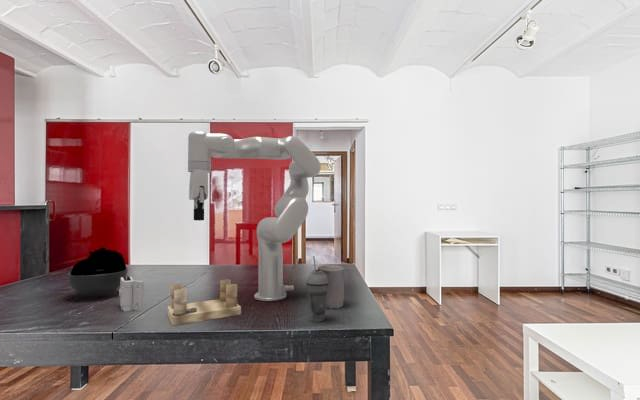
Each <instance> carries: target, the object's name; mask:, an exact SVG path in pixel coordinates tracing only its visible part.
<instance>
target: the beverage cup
mask: <svg viewBox="0 0 640 400" xmlns="http://www.w3.org/2000/svg"><path fill="white" fill-rule="evenodd" d="M312 260H313V261H312V262H313V267H314V270H312V271H310V273H309V274H308V276H307V277H306V283H305V284H306V290H307V296H308V297H307V298H308V300H307V301H308V310H309V319H310V321H311V322H315V323H319V322H320V321H321V322H324V321H325V317H326V309H325V308H326V296H327V289H328V284H329V282H328V278H327V275H326V274H325V273H324V272H323V271H321V270H318V269H317V266H316V257H315V256H314V255H313V256H312ZM323 320H324V321H323ZM321 322H320V323H321Z"/></svg>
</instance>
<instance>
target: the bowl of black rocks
mask: <svg viewBox="0 0 640 400" xmlns="http://www.w3.org/2000/svg"><path fill="white" fill-rule="evenodd" d="M88 253H89V254H90V255H89V256H88V257H87V258H85V259H82V260H79V261H78V262H76V263H75V264H74V265H72V266H73V267H72V269H71V271H70V272H68V273H67V275H66V276H67V280H68V283H69V285H70V287H71V288H72V289H73V290H74V291H75V292H76V293H78V294H80V295H82V296H85V297H90V298H98V297H103V296H106V295H110V294H111V293H113V292H115V291H116V290H117V289H118V288H120V279H121V277H125V278H126V279H127V276H128V275H127V274H128V268H127V265H126V262H125V258H124V256H123V254H122V253H121V252H119V251H116V250H114V249H113V250H111V249H106V247H105V246H104V247H100V248H98V249H96V250H94V251H89V252H88Z"/></svg>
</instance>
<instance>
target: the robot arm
mask: <svg viewBox="0 0 640 400" xmlns="http://www.w3.org/2000/svg"><path fill="white" fill-rule="evenodd" d="M187 138H188V139H187V142H188V143H187V172H189V173H190V174H189V184H188V185H189V189H188V199H189V201H193V221H204V220H205V200H208V197H209V175H208V174H210V173H211V170H212V163H211V162H212V158H214V159H230V160H231V159H232V160H233V159H244V160H245V159H247V160H248V159H249V160H252V159H254V160H255V159H260V160H280V161H283V160H289V159H292V161H291V162H290V163H289V167H288V173H289V176H290V177H289V178H290V183H289V186H288V188H287V189H286V190H285V192H284V193H283V194H282V196H281V197H280V198H279V200H278V201H277V203H276V204H275V206H274V209H273V210H274V213H275V216H276V217H274V216H273V217H271V216H270V217H269V216H267V217H264V218H263V219H261V220H260V221H259V222H258V224H257V226H256V237H257V243H258V244H257V246H258V290H257V292H256V293H255V294H254V299H255V300H257V301H263V302H275V301H280V300H284V299H285V298H287V292H288V291H289V292H290V291H294V290H295V286H294V285H293V284H292V285H287V284H286V285H285V284H283V277H284V274H283V271H284V265H283V263H284V262H283V261H284V260H283V259H284V251H283V245H282V244H284V243H288V242H289V241H290V240H291V239H292V238H294V236H295V235H296V233H297V231H298V230H299V229H300V227H301V226H302V224H303V223H304V222H305V220H306V218H307V217H308V213H309V205H308V201H307V200H306V198H307V196H308V194H309V191H310V186H309V182H308V180H309V179H310V178H314V177H316V176H317V175H319V173H320V172H321V169H322V167H321V162H320V160H319V159H318V157H317V156H316V154H314V153H313V152H312V151H311V149H310V148H309V147H308V146H307V145H306V144H305V143H304V142H303V141H302V140H301V139H300V138H299V137H297V136H295V135H289V136H285V137H283V138H279V137H277V138H275V137H267V136H266V137H265V136H252V137H246V138H241V139H240V138H239V139H234V138H233V137H232V136H231V135H230V134H227V133H222V132H221V133H220V132H219V133H208V132H205V131H191V132H189V134H188V137H187Z"/></svg>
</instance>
